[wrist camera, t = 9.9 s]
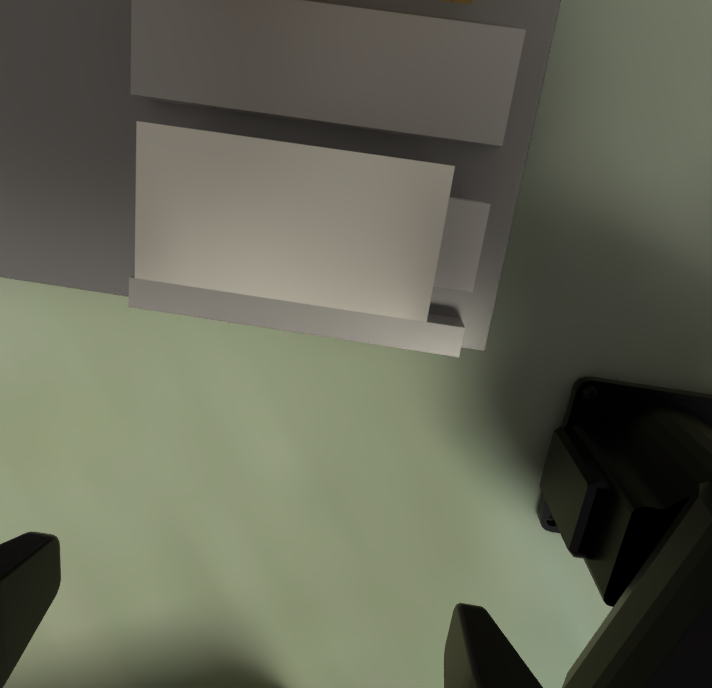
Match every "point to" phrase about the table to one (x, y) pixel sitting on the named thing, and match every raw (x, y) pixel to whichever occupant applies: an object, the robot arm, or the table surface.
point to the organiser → (260, 129)
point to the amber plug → (460, 1)
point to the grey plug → (301, 222)
